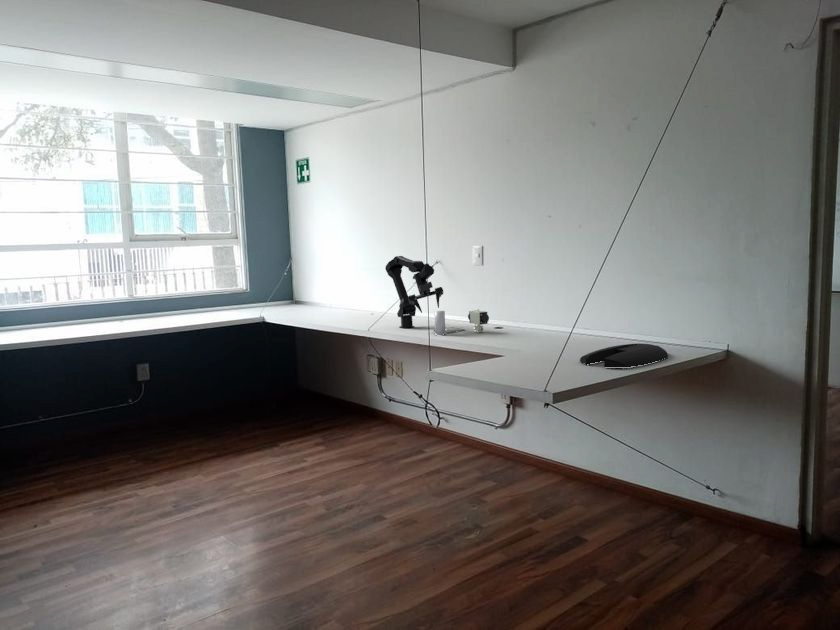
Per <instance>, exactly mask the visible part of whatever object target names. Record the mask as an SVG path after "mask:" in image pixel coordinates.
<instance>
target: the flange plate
mask: <svg viewBox="0 0 840 630" xmlns="http://www.w3.org/2000/svg"><path fill="white" fill-rule="evenodd" d="M433 330H434V331H433V332H435V328H434V329H433ZM462 330H465V331H466V329H465V328H460V327H453V326H448V327H445V332H446V334H451V333H450V332H453V333H457V332H456V331H459V332H463V331H462Z"/></svg>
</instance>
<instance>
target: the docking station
mask: <svg viewBox="0 0 840 630" xmlns="http://www.w3.org/2000/svg"><path fill="white" fill-rule="evenodd" d="M668 356H669V354H668V351H667V350H666V349H664V348H663V347H661V346H660V345H657V344H656V345H655V344H652V343H651V344H650V343H628V344H627V343H626V344H620V345H613V346H609V347H608V346H607V347H605V348H601V349H598V350H594V351H592V352H589V353H588V352H587V353H586V354H584V355H582V356H581V357H580V358H579V362H580V361H581V362H583V363H585V364H590V363H595V362H600V361H604V362H603V367H631V366H638V365H644V364H648V363H652V362H655V361H659V360H662V359H664V358H667V357H668ZM668 358H669V357H668ZM668 358H667V359H668ZM662 361H663V360H662ZM581 362H580V363H581ZM583 363H582V364H583ZM585 364H584V365H585Z"/></svg>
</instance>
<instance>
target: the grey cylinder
mask: <svg viewBox="0 0 840 630" xmlns="http://www.w3.org/2000/svg"><path fill="white" fill-rule="evenodd" d="M445 313H446V311H445V310H435V311H434V327H435V328H434V329H435V331H434V335H435V334H437V335H442V336H444V335H443V334H446V335H447V333H446V332H445V328H446V314H445ZM437 335H436V336H437Z"/></svg>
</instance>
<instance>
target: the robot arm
mask: <svg viewBox="0 0 840 630" xmlns="http://www.w3.org/2000/svg"><path fill="white" fill-rule="evenodd" d="M404 267H405V268H407V269H408V271H410V272H411V273H414V274H413V276H412V280H415V283H416V287H417V290H418V293H419V295H416V294H414V293H413V294H410V295H408V292H407V290H406V286H405V283H404V281H403V279H402V273H403V270H402V268H404ZM385 271H386V273H387V276H388V277H390V278H391V279H392V280H393V281H392V282H393V285H394V287H395V290H396V292H397V295H398V299H399V305H398V307H399V309H398V311H397V312H396V313H397V318H400V326H399V328H401V329H411V328H415V326H414V324H413V317H415V316H416V311H417V309H418V311H420V313H423V311H422V307H421V306H420V304H419V301H418V300H420V299H423V298H424V299H425V298H427V297H431V296H434V295H435V299H436V304H437V305H436V306H437V308H438V309H439V308H440V298H441V297H442V295H444V289H443V287H442V286H439V287H435V288H434V290H432V291H431V289H432V288H433V284H432V281H428V279H429V278H431V277H432V276H433V275H434V273H435V269H434V268H433V266H431V265H430V264H429V263H424V261H422V260H412V259H410V258H407V257H405V256H403V255H397V256H394V258H393V259H391V260H390V261H388V262H387V263H386V265H385Z"/></svg>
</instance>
